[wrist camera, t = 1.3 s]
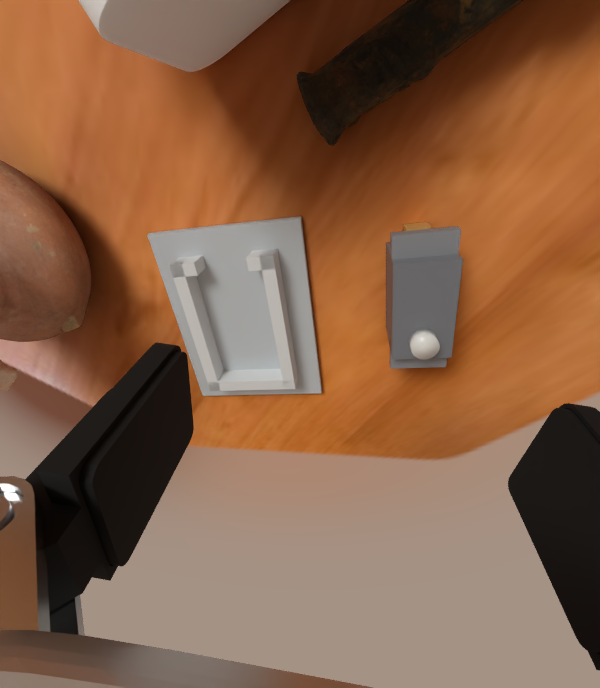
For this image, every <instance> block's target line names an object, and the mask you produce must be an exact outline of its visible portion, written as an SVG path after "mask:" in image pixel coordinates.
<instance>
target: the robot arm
mask: <svg viewBox="0 0 600 688" xmlns="http://www.w3.org/2000/svg"><path fill="white" fill-rule="evenodd" d="M192 434H193V415H192V404H191V393H190V382H189V371H188V360H187V354H186V353H185V352H181V349H180V347H179V346H176V345H170V344H163V343H155V344H153V345H152V346H151V347H150V349H149V350H148V351H147V352H146V353H145V354H144V355H143V356H142V357H141V358H140V359H139V360H138V361H137V363H136V364H135V365H134V366H133V367H132V368H131V369H130V370H129V371H128V372H127V373H126V374H125V375H124V377H123V378H122V379H121V380H120V381H119V382H118V383H117V384H116V385H115V386H114V387H113V388H112V389H111V390H110V391H108V392H107V393H106V394H105V395H104V396H103V397H102V398H101V399H100V400H99V401H98V402H97V404H96V405H95V406H94V407H93V408H92V409H91V410H90V411H89V412H88V413H87V414H86V415H85V416H84V418H83V419H82V420H81V421H80V422H79V423H78V424H77V425H76V426H75V427H74V428H73V429H72V431H70V433H69V434H68V435H67V436H66V437H65V438H64V439H63V440H62V441H61V442H60V443H59V444H58V445H57V446H56V447H55V449H53V451H52V452H51V453H50V454H49V455H48V456H47V457H46V458H45V459H44V460H43V461H42V462H41V464H40V465H39V466H38V467H37V468H36V469H35V470H34V471H33V472H32V473H31V474H30V475H29V476H28V477H27V478H26V479H22V478H17V477H14V476H13V477H12V476H10V477H0V688H372V687H367V686H361V685H356V684H351V683H346V682H340V681H335V680H330V679H325V678H319V677H314V676H309V675H303V674H298V673H293V672H287V671H282V670H276V669H271V668H265V667H260V666H255V665H250V664H244V663H239V662H234V661H228V660H223V659H217V658H212V657H206V656H201V655H196V654H190V653H185V652H179V651H174V650H168V649H162V648H156V647H150V646H144V645H138V644H132V643H126V642H120V641H114V640H108V639H101V638H95V637H89V636H85V635H84V626H83V617H82V609H81V600H80V594H82V593H83V591H84V590H85V588H86V586H87V584H88V583H89V581H90V579H91V578H92V577H94V578H100V579H105V580H111V578H112V576H113V574H114V573H115V571H116V569H117V567H118V566H124V565H125V564H126V563H127V561H128V560H129V558H130V556H131V555H132V553H133V551H134V549H135V547H136V545H137V543H138V541H139V539H140V537H141V535H142V533H143V531H144V529H145V528H146V526H147V524H148V522H149V520H150V518H151V516H152V514H153V512H154V510H155V508H156V506H157V504H158V502H159V500H160V498H161V496H162V494H163V492H164V491H165V489H166V487H167V485H168V483H169V481H170V479H171V477H172V475H173V473H174V471H175V469H176V467H177V465H178V463H179V461H180V459H181V458H182V456H183V453H184V452H185V450H186V448H187V446H188V444H189V442H190V440H191V437H192ZM508 487H509V491H510V494H511V496H512V498H513V500H514V502H515V505H516V507H517V509H518V511H519V513H520V515H521V518H522V520H523V522H524V524H525V526H526V528H527V531H528V533H529V535H530V537H531V539H532V542H533V543H534V546H535V548H536V550H537V553H538V555H539V557H540V559H541V561H542V564H543V566H544V568H545V570H546V572H547V574H548V576H549V579H550V581H551V583H552V585H553V588H554V590H555V592H556V594H557V596H558V598H559V601H560V603H561V605H562V607H563V609H564V612H565V614H566V616H567V618H568V620H569V623H570V624H571V627H572V629H573V631H574V633H575V636H576V638H577V639H578V641H579V643H580V644H581V645H582V646H583V647H584V648H585V649H586V650H588V652H589V655H590V657H591V659H592V661H593V663H594V665H595V667H596V669H597V670H600V412H599V411H598V410H597V409H595V408H593V407H588V406H582V405H575V404H563V405H562V406H560V407H559V408H556V409H554V410H553V411H552V412H551V414H550V415H549V417H548V418H547V420H546V421H545V423H544V425H543V426H542V428H541V429H540V431H539V432H538V434H537V435H536V437H535V439H534V440H533V441H532V443H531V445H530V446H529V448H528V449H527V451H526V453H525V454H524V455H523V457H522V458H521V460H520V462H519V463H518V465H517V466H516V468H515V469H514V471H513V472H512V474H511V476H510V477H509V481H508Z"/></svg>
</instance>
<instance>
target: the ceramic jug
mask: <svg viewBox="0 0 600 688" xmlns="http://www.w3.org/2000/svg"><path fill="white" fill-rule="evenodd" d="M90 292H91V270H90V263H89V259H88V256H87V253H86V250H85V247H84V244H83V242H82V240H81V238H80V236H79V234H78V232H77V230H76V228H75V227H74V225H73V223H72V222H71V220H70V219H69V217H68V216H67V215H66V213H65V212H64V211H63V209H62V208H61V207H60V206H59V204H58V203H57V202H56V201H55V200H54V199H53V198H52V197H51V196H50V195H49V194H48V193H47V192H46V191H45V190H44V189H43V188H42V187H40V186H39V185H38V184H37V183H36V182H34V181H33V180H32V179H30V178H29V177H28V176H26V175H25V174H23V173H22V172H20V171H19V170H17V169H15V168H14V167H12V166H10V165H8V164H6V163H5V162H2V161H0V339H4V340H9V341H18V342H29V341H38V340H44V339H48V338H51V337H54V336H56V335H58V334H60V333H62V332H69V331H71V330H74V329H76V328H78V327H80V326H81V325H82V324H83V321H84V318H85V312H86V309H87V305H88V301H89V297H90ZM17 376H18V371H17V369H15V368H13V367H10V366H8V365H6V364H5V363H3V362H2V361H1V360H0V391H7V390H9V388H10V387H11V385H12V384H13V382H14V381H15V380H16V379H17Z"/></svg>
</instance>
